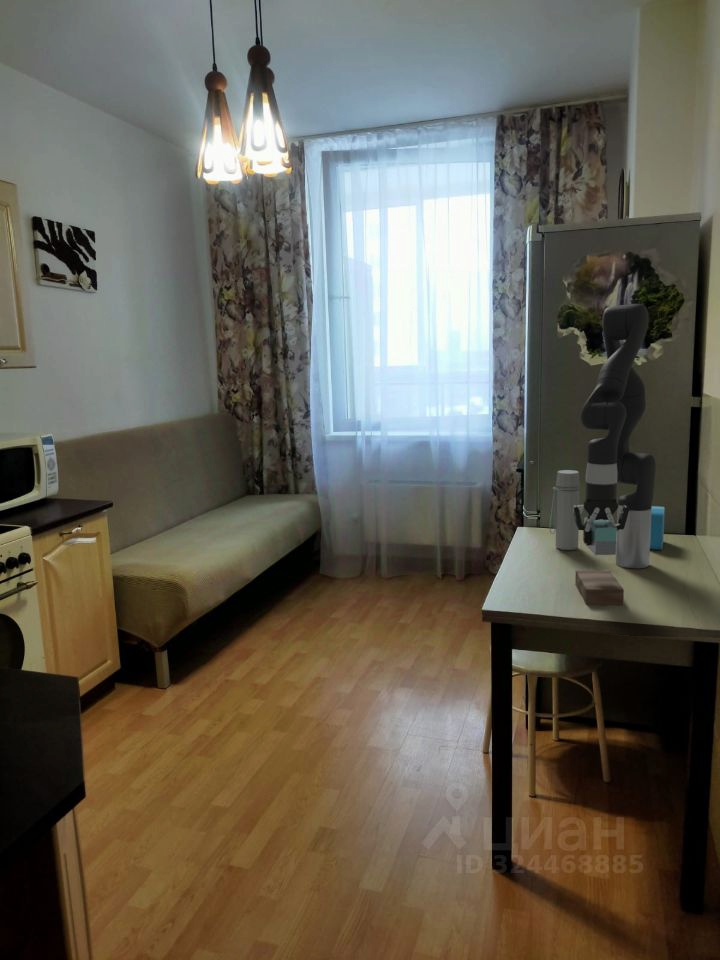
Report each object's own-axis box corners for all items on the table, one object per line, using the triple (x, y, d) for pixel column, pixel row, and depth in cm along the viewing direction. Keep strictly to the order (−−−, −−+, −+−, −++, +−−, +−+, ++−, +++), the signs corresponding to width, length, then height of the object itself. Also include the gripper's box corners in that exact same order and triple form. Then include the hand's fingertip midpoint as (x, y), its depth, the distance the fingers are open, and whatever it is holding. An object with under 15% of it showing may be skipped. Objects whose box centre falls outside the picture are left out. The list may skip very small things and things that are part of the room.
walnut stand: (575, 584, 186) (575, 570, 185) (609, 584, 185) (610, 570, 184) (585, 604, 171) (586, 589, 171) (623, 604, 170) (623, 589, 169)
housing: (595, 554, 170) (596, 527, 169) (583, 543, 181) (584, 517, 180) (615, 554, 170) (616, 527, 169) (602, 542, 181) (603, 517, 180)
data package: (648, 540, 225) (649, 505, 223) (663, 541, 223) (664, 505, 221) (646, 550, 215) (648, 513, 213) (662, 551, 213) (663, 514, 211)
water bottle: (575, 544, 223) (577, 469, 219) (581, 551, 216) (582, 473, 211) (547, 544, 224) (548, 470, 220) (551, 551, 217) (552, 474, 212)
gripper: (574, 483, 170) (573, 548, 173) (634, 482, 168) (632, 549, 171) (569, 477, 177) (568, 540, 180) (627, 477, 175) (624, 541, 178)
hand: (599, 544), depth 176 cm, fingers closed on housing, 5 cm apart
